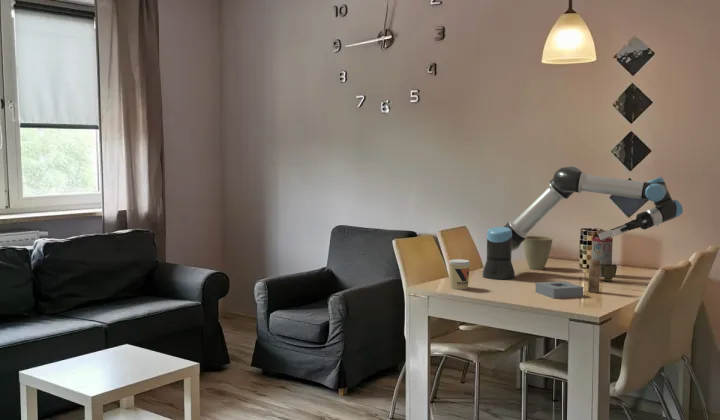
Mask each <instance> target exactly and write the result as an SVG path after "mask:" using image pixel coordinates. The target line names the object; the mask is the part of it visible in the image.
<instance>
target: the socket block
mask: <svg viewBox="0 0 720 420" xmlns="http://www.w3.org/2000/svg"><path fill="white" fill-rule="evenodd" d="M535 293H538V294H540V295H543V296H546V297H549V298H552V299H564V298H565V299H566V298H580V297H582V298H583V297H584V286H581V285H577V284H575V283H572V282H569V281H565V280H562V281H561V280H560V281H542V282H538V281H537V282H535Z"/></svg>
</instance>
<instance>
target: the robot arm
mask: <svg viewBox="0 0 720 420" xmlns="http://www.w3.org/2000/svg"><path fill="white" fill-rule="evenodd" d="M582 192H587V193H596V194H602V195H609V196H617V197H623V198H624V197H625V198H632V199H640V200H646V201H650V202H653V204H654V207H652V208H649V209H647V210H646V209H645V211H642V212H639V213H637V214H636V217H635V219H632V220H630V221H628V222H625V223H624V224H622V225H620V226H617V227H613V228H610V229H608V231H606V230H605V231H606V232H603V233H600V234H598V235H599V237H600V240H602V239H605V238H607V237H610V236H611V237H616V236H620V235H622V234H625V233H627V232H629V231H631V230H636V229H639V228H641V229H642V230H647V229H650V228H652V227H655V226H656V227H659V226H660V224H663V223H665V222H669V221H671V220H674V219H675V218H679V217H680V216H681V215H682V214H683V211H684V210H683V206H682V204H681V203H680V201H679V200H677V199H672V197H671V194H670V192H669V189H668V187H667V185H666V182H665V180H664V178H663V177H662V176H659V177H655V178H653V179H651V180H648V181H640V180H639V181H638V180H632V179H631V180H630V179H623V178H615V177H609V176H601V175H595V174H594V175H593V174H587V173H585V172H584V171H581V170H580V169H579V168H577V167H576V166H571V165H570V166H565V167H560V168H559V169H557V170H556V171H555V172H554V174H553V178H552V179H550V181H548V187H547V188H546V189H545V190H544V191H543V192H542V193H541V194H540V195H539V196H538V197H537V198H536V199H535V200H534V201H533V202H532V203H530V205H528V207H527V208H525V210H523V211H522V212H521V213H520V214H519V216H518V217H517V218H515V219H514V220H508V222H506V224H505V225H504V226H496V227H491V228H489V229H488V230H487V233H486V261H485V264H484V266H483V270H482V277H483V278H486V279H494V280H512V279H514V278H515V277H516V276H515V275H516V273H515V270H514V266H513V263H512V252H513V251H515V250H518V248H520V246H521V244H523V241H524V240H525V239H526V238H527V236H528V233H529V232H530V231H531V230H532V229H533V228H534V227H535V226H536V225H537V224H538V223H539V222H541V220H543V218H545V216H546V215H548V214H549V212H551V210H553V209H554V208H555V207H556V206H557V205H558V204H559V203H560V202H561V201H562V200H568V199H569V198H570V197H571V196H572V195H573V194H574V193H577V194H578V193H579V194H581V193H582Z"/></svg>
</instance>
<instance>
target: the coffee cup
mask: <svg viewBox="0 0 720 420" xmlns="http://www.w3.org/2000/svg"><path fill="white" fill-rule="evenodd" d="M470 267H471V262H470V260H467V259H461V258H460V259H457V258H455V259H454V258H453V259H449V261H448V271H449V273H448V274H449V275H448V276H449V288H450V289H453V290H467V289H468V288H469V278H470Z"/></svg>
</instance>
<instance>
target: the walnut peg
mask: <svg viewBox="0 0 720 420" xmlns="http://www.w3.org/2000/svg"><path fill="white" fill-rule="evenodd" d="M588 263H589V264H588V280H587V281H588V284H587V285H588V286H587V288H588V289H587V292H588V293H590V294H599V293H600V277H599V276H600V260H598V259H592V258H591V259H589V260H588Z"/></svg>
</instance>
